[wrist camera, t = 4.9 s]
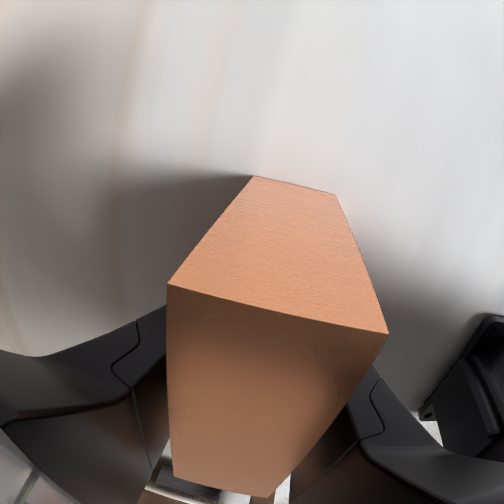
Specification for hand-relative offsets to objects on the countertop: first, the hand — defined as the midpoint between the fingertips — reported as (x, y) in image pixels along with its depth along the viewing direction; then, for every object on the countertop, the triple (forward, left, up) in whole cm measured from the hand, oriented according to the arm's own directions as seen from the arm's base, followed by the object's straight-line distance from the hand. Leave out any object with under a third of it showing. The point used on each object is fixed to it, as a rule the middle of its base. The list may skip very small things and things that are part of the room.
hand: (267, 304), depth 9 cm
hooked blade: (+2, +9, -1) cm, 9 cm away
